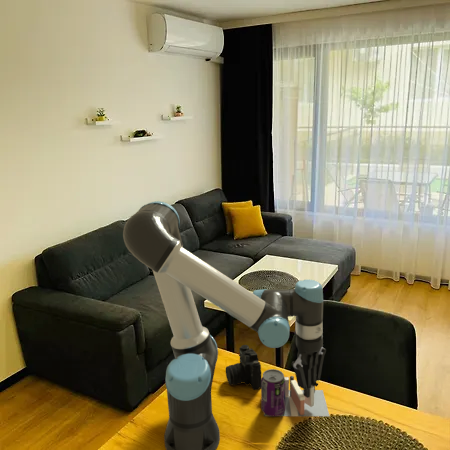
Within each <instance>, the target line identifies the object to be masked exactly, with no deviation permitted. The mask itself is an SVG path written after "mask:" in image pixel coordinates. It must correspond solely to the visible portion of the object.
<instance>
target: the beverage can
mask: <svg viewBox="0 0 450 450" xmlns="http://www.w3.org/2000/svg"><path fill="white" fill-rule="evenodd" d="M284 377H285V375H284V372H282V371H281V370H279V369H274V368H273V369H272V368H270V369H267V370H265V371H264V372H263V373H262V376H261V388H260V389H261V392H260V395H261V396H260V397H261V399H260V401H261V402H260V403H261V411H262V412H263V414H264V413H265V414H267V415H269V416H268V417H280V416H279V415H282V414H283V413H284V412H285V378H284Z"/></svg>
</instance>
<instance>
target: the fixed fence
mask: <svg viewBox="0 0 450 450" xmlns="http://www.w3.org/2000/svg"><path fill="white" fill-rule="evenodd" d="M284 378H285V396H289V390H290V396H291V380H295V377H294V376H293V375H290V376H284Z"/></svg>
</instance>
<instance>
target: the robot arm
mask: <svg viewBox="0 0 450 450" xmlns="http://www.w3.org/2000/svg"><path fill="white" fill-rule="evenodd" d="M125 222H126V223H125V224H124V227H123V232H122V237H123V242H124V245H125V247H126V248H127V250H128V252H130V253H131V255H132V256H133V257H134V258H136V259H137V260H138V261H139V262H141V263H142V264H144V265H145V266H146V267H148V268H149V269H150V270H152V272H153V276H154V279H155V282H156V284H157V288H158V291H159V293H160V298H161V301H162V305H163V307H164V310H165V313H166V316H167V319H168V322H169V326H170V329H171V332H172V334H173V335H172V337H171V340H170V346H171V349H172V351H173V355H174V358H173V359H172V360H170V362H169V364H168V365H167V367H166V371H165V379H164V380H165V387H166V394H167V395H166V396H167V406H168V407H167V409H168V416H169V417H168V421H167V424H166V428H165V431H164V438H163V439H164V447H165V450H217V449H218V446H219V444H220V441H221V440H220V438H221V435H220V429H219V425H218V423H217V420H216V419H215V415H214V414H213V405H212V404H213V403H212V402H213V401H212V386H213V381H214V376H215V371H216V365H217V363H218V359H219V351H218V350H219V349H218V344H217V342H216V340H215V339H214V337H213V336H212V335H211V334H210V332H209V329H208V328H207V327H205V326H203V325H202V322H201V320H200V316H199V313H198V309H197V306H196V302H195V299H194V295H193V293H192V291H193V292H194V293H195V294H197V295H199V296H200V297H202V298H203V299H205V300H207V301H208V302H210V303H212V304H213V305H215V306H216V307H217V308H219V309H221V310H222V311H223V312H225V313H227V314H228V315H230V316H231V317H233V318H235V319H237V320H238V321H240V322H241V323H242V324H244V325H246V326H247V327H248V328H250V329H251V330H253V331H255V332H256V333H257V334H258V337H259V340H260V342H261V343H262V344H263V346H265V347H267V348H269V349H272V348H273V349H276V348H277V349H278V348H280V347H283V346H284V345H286V343H287V342H288V340H289V338H290V329H291V327H290V322H289V317H292V318H293V317H295V346H296V348H297V350H298V351H297V355H296V356H297V357H296V358H297V359H296V360H295V361H292V362H291V364H290V365H291V366H292V367H293V371H294V375H295V378H296V379H295V380H296V382H297V383H298V386H299V387H300V389H302V390H303V394H304V396H305V402H304V403H306V404H307V405H309V406H310V407H312V406H314V393H315V390H316V387H319V383H318V382H317V381H320V380H321V376H322V370H323V364H324V359H325V355H326V352H327V349H326V348H324V347H323V346H324V344H323V343H324V339H323V337H324V336H323V333H324V332H323V329H324V328H323V320H324V293H323V291H324V290H323V288H324V287H323V285H322V284H321V283H320V282H319V281H318V280H315V279H304V280H299V281H297V282H296V283H295V286H294V288H291V289H289V288H288V289H287V288H285V289H284V288H282V289H279V288H276V289H275V288H273V289H271V288H270V289H267V288H264V289H256V290H253V292H252V291H249V290H248V289H247V288H245V287H244V286H242V285H241V284H239V283H237V282H236V281H235V280H233V279H232V278H230V277H229V276H227V275H225V274H224V273H222V272H221V271H219V270H218V269H216V268H215V267H213V266H212V265H210V264H209V263H208V262H206V261H204V260H202V259H201V258H199V257H198V256H196V255H195V254H194V253H192V252H190V251H189V250H187V249H186V248H184V247H183V246H184V244H183V240H182V237H181V232H180V229H179V228H180V223H181V221H180V216H179V213H178V212H177V210H176V208H174V206H172V205H171V204H169V203H167V202H164V201H159V200H158V201H151V202H148V203H146V204H144V205H142V206H141V207H140V208H139V209H138V210H137V212H135V213H133V214H132V215H131V216H130V217H129V218H128V219H127V220H126V221H125Z"/></svg>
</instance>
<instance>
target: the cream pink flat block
mask: <svg viewBox="0 0 450 450" xmlns="http://www.w3.org/2000/svg"><path fill="white" fill-rule="evenodd" d="M301 390H302V388H301V387H299V386H298V383H297V379H294V380H291V398H292V400H293V402H294V404H295V406H296V408H297V410H298V412H299V413H300V415H304V402H305V396H304V394H303V392H302V391H301Z"/></svg>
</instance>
